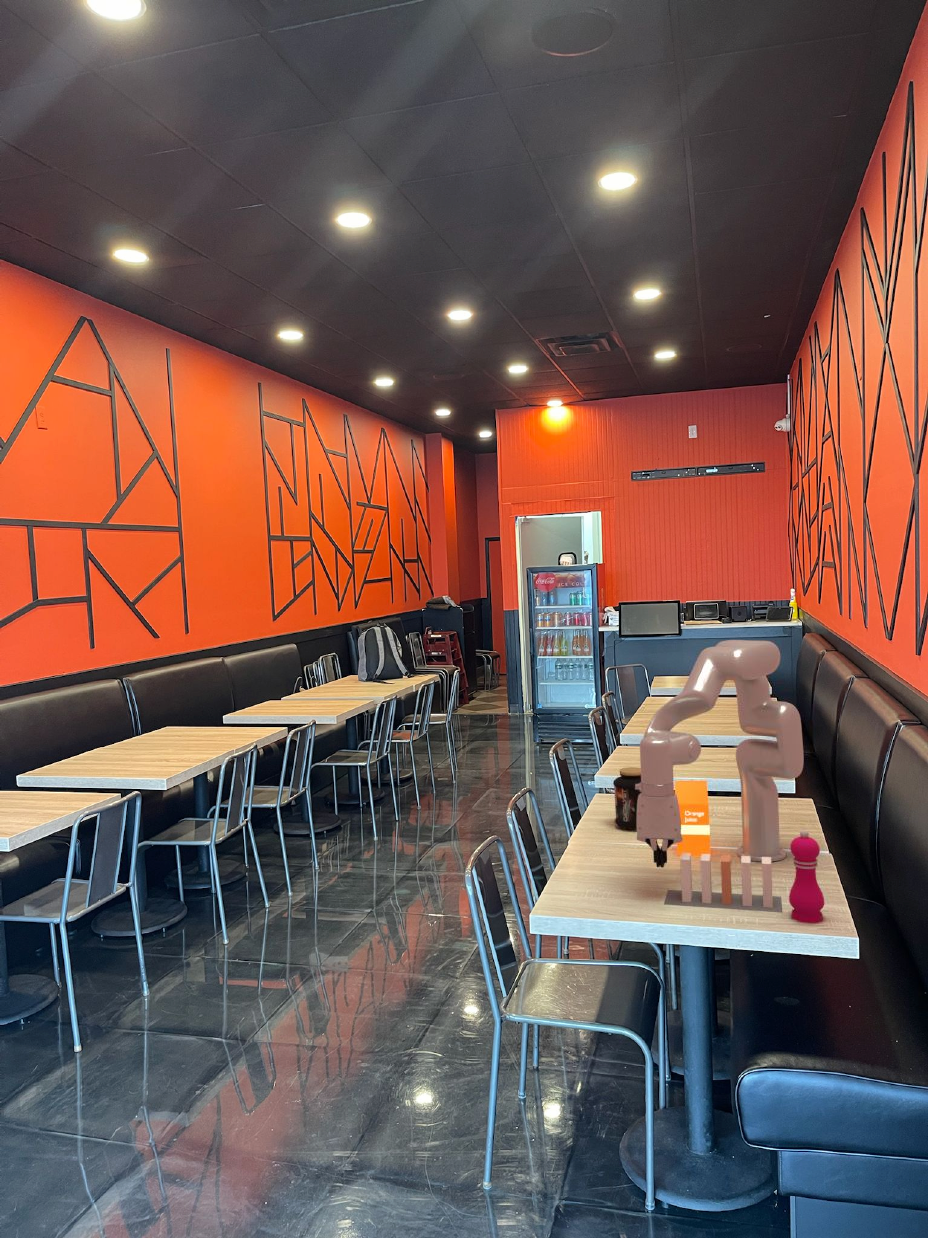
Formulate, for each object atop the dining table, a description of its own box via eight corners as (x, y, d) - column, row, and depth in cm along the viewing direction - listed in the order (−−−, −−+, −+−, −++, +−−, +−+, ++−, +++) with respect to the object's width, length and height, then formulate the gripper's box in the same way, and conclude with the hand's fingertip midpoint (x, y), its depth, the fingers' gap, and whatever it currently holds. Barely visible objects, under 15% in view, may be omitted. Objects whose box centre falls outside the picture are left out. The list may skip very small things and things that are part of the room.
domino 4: (742, 905, 200) (741, 862, 199) (742, 898, 204) (741, 855, 204) (751, 906, 199) (750, 863, 199) (751, 898, 204) (750, 856, 203)
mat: (667, 892, 212) (667, 889, 212) (781, 899, 204) (781, 896, 204) (663, 906, 203) (663, 904, 203) (782, 915, 194) (782, 912, 194)
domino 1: (682, 901, 204) (680, 859, 203) (683, 894, 208) (682, 852, 208) (691, 902, 203) (689, 859, 203) (692, 894, 208) (690, 853, 208)
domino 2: (702, 903, 202) (700, 860, 202) (703, 895, 207) (701, 853, 207) (711, 903, 202) (709, 861, 201) (711, 896, 206) (710, 854, 206)
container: (658, 831, 263) (654, 772, 262) (618, 833, 263) (615, 774, 263) (650, 821, 275) (647, 764, 275) (612, 823, 275) (609, 767, 275)
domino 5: (763, 907, 198) (762, 863, 198) (763, 899, 203) (761, 856, 202) (772, 907, 197) (771, 864, 197) (772, 900, 202) (770, 857, 202)
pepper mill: (816, 913, 195) (813, 824, 194) (830, 925, 188) (828, 833, 187) (784, 915, 195) (781, 826, 194) (797, 927, 187) (794, 835, 187)
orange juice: (710, 856, 237) (708, 783, 237) (677, 856, 239) (674, 783, 239) (708, 848, 245) (706, 777, 244) (676, 847, 247) (673, 777, 246)
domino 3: (722, 904, 201) (720, 861, 201) (722, 896, 206) (721, 854, 205) (731, 905, 200) (729, 862, 200) (731, 897, 205) (730, 855, 205)
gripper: (623, 792, 206) (626, 869, 206) (688, 794, 201) (691, 872, 201) (628, 784, 213) (631, 859, 213) (691, 786, 208) (694, 862, 209)
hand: (660, 865), depth 207 cm, fingers closed
